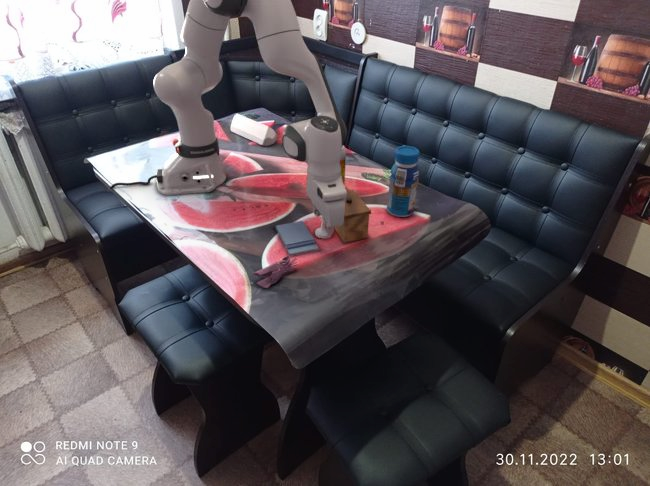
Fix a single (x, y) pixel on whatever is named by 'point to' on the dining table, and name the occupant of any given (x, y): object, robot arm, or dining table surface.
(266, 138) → the crystal
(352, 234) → the bread box
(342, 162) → the yellow cylinder
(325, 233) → the chess piece
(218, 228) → the dining table surface
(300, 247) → the grey flat slab
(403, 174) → the beverage bottle
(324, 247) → the dining table surface
